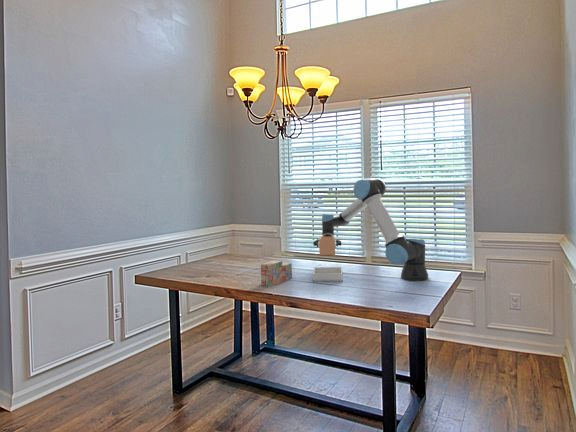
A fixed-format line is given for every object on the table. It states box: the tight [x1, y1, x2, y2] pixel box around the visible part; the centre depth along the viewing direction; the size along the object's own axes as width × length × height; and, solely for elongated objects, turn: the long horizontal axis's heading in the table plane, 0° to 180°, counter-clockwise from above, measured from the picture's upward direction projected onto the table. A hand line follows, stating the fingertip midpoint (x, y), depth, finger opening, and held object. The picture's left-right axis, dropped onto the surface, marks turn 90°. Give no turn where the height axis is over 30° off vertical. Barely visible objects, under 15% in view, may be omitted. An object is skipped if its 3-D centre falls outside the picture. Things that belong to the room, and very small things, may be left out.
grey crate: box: [312, 266, 344, 283], centre depth 246 cm, size 17×17×4 cm
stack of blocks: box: [260, 259, 293, 287], centre depth 241 cm, size 21×6×12 cm, turn 143°
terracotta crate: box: [318, 236, 336, 257], centre depth 244 cm, size 9×9×10 cm
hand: (327, 245), depth 240 cm, fingers closed on terracotta crate, 9 cm apart
